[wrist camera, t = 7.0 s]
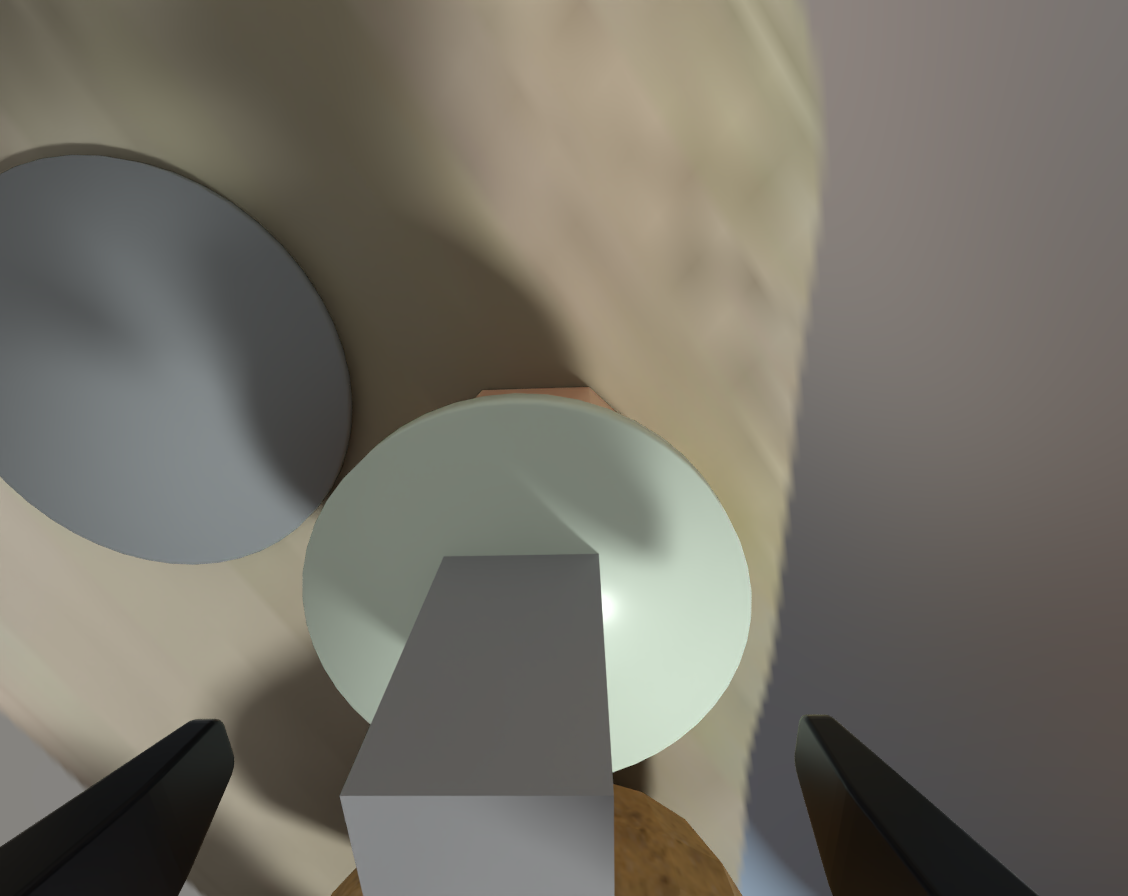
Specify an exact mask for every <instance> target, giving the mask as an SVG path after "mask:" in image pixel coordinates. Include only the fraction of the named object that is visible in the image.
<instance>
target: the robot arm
mask: <svg viewBox="0 0 1128 896" xmlns="http://www.w3.org/2000/svg"><path fill="white" fill-rule="evenodd" d="M795 766H796V772H797V775H798V779H799V782H800V786H801V789H802V793H803V797H804V800H805V804H806V807H807V810H808V814H809V818H810V821H811V825H812V828H813V832H814V835H815V839H816V842H817V846H818V849H819V853H820V856H821V860H822V863H823V867H824V870H825V873H826V877H827V880H828V883H829V886H830V889H831V892H832V894H833V896H1039V895H1038V894H1037V893H1036V892H1035V891H1033V890H1032V889H1031V888H1030V887H1029V886H1028V885H1026V884H1025V883H1024V882H1023V881H1022V880H1021V879H1020V878H1018V877H1017V876H1016V875H1015V874H1014V873H1013V872H1011V871H1010V870H1009V869H1008V868H1007V867H1006V866H1004V865H1003V864H1002V863H1001V862H1000V861H999V860H998V859H996V858H995V857H994V856H993V855H992V854H990V853H989V852H988V851H987V850H986V849H985V848H984V847H982V846H981V845H980V844H979V843H978V842H977V841H976V840H974V839H973V838H972V837H971V836H970V835H969V834H967V833H966V832H965V831H964V830H963V829H962V828H960V827H959V826H958V825H957V824H956V823H954V822H953V821H952V820H951V819H950V818H949V817H948V816H947V815H945V814H944V813H943V812H942V811H941V810H940V809H938V808H937V807H936V806H935V805H934V804H933V803H931V802H930V801H929V800H928V799H927V798H926V797H925V796H923V795H922V794H921V793H920V792H919V791H917V790H916V789H915V788H914V787H913V786H912V785H911V784H909V783H908V782H907V781H906V780H905V779H903V778H902V777H901V776H900V775H899V774H898V773H897V772H896V771H894V770H893V769H892V768H891V767H890V766H889V765H887V764H886V763H885V762H884V761H883V760H882V759H881V758H879V757H878V756H877V755H876V754H875V753H874V752H872V751H871V750H870V749H869V748H868V747H867V746H865V745H864V744H863V743H862V742H861V741H860V740H859V739H857V738H856V737H855V736H854V735H853V734H852V733H850V732H849V731H848V730H847V729H846V728H845V727H843V726H842V725H841V724H840V723H839V722H838V721H837V720H835V719H834V718H832V717H831V716H829V715H803V716H802V717H801V719H800V721H799V727H798V734H797V742H796V749H795ZM233 768H234V755H233V752H232V748H231V745H230V742H229V739H228V736H227V733H226V729H225V726H224V724H223V723H222V722H221V721H220V720H218V719H195V720H192V721H189V722H188V723H186V724H185V725H183V726H182V727H180V728H179V729H177V730H176V731H174V732H173V733H171V734H170V735H168V736H167V737H165V738H163V739H162V740H160V741H159V742H157V743H156V744H154V745H153V746H151V747H150V748H148V749H147V750H145V751H144V752H142V753H141V754H139V755H138V756H136V757H135V758H133V759H132V760H130V761H129V762H127V763H126V764H124V765H123V766H121V767H120V768H118V769H117V770H115V771H114V772H112V773H111V774H109V775H108V776H106V777H105V778H103V779H102V780H100V781H99V782H97V783H96V784H94V785H93V786H91V787H90V788H88V789H87V790H85V791H84V792H82V793H81V794H79V795H78V796H76V797H75V798H73V799H72V800H70V801H69V802H67V803H66V804H64V805H63V806H61V807H60V808H58V809H57V810H55V811H54V812H52V813H51V814H49V815H48V816H46V817H45V818H43V819H42V820H40V821H38V822H37V823H35V824H34V825H33V826H31V827H29V828H28V829H27V830H25V831H24V832H22V833H21V834H19V835H17V836H16V837H14V838H13V839H12V840H10V841H8V842H7V843H5V844H4V845H2V846H1V847H0V896H178V895H179V893H180V891H181V889H182V887H183V885H184V883H185V881H186V879H187V877H188V874H189V872H190V870H191V868H192V866H193V864H194V861H195V859H196V857H197V854H198V852H199V850H200V847H201V845H202V843H203V840H204V838H205V836H206V833H207V831H208V829H209V826H210V824H211V822H212V819H213V817H214V815H215V812H216V810H217V808H218V805H219V803H220V801H221V798H222V796H223V794H224V791H225V789H226V787H227V784H228V782H229V780H230V777H231V775H232V772H233Z"/></svg>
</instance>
